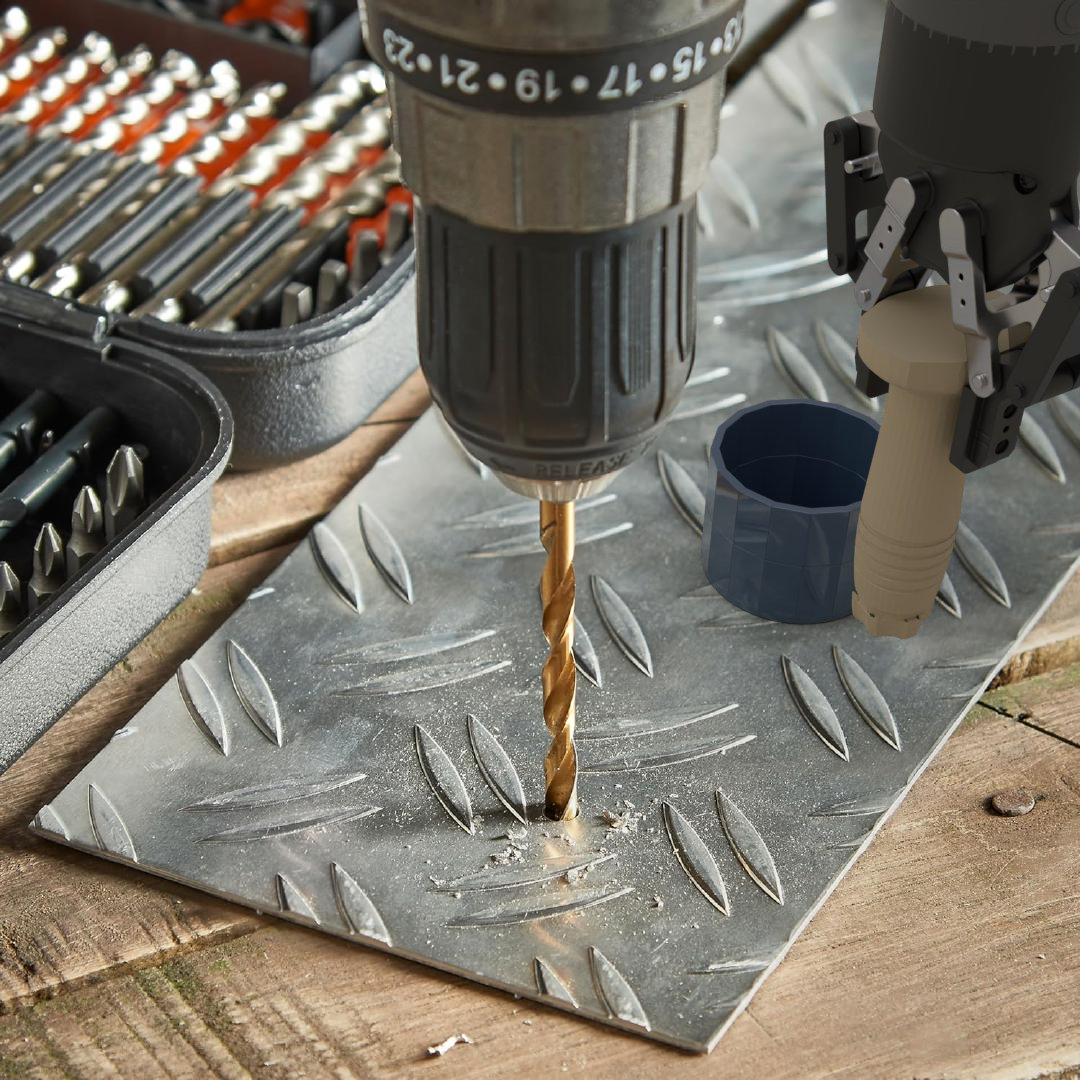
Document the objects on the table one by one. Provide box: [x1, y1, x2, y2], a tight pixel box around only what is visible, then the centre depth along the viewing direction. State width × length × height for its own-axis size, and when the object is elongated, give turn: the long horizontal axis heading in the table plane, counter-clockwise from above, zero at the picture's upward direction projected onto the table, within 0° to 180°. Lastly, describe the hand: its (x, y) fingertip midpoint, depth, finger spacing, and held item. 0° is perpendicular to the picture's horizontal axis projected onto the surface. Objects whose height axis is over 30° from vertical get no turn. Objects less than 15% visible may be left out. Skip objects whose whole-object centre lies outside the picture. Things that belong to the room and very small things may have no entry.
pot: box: [700, 397, 881, 625], centre depth 87 cm, size 10×10×8 cm
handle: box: [852, 284, 1009, 640], centre depth 61 cm, size 5×6×15 cm
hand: (926, 422), depth 59 cm, fingers closed on handle, 5 cm apart
